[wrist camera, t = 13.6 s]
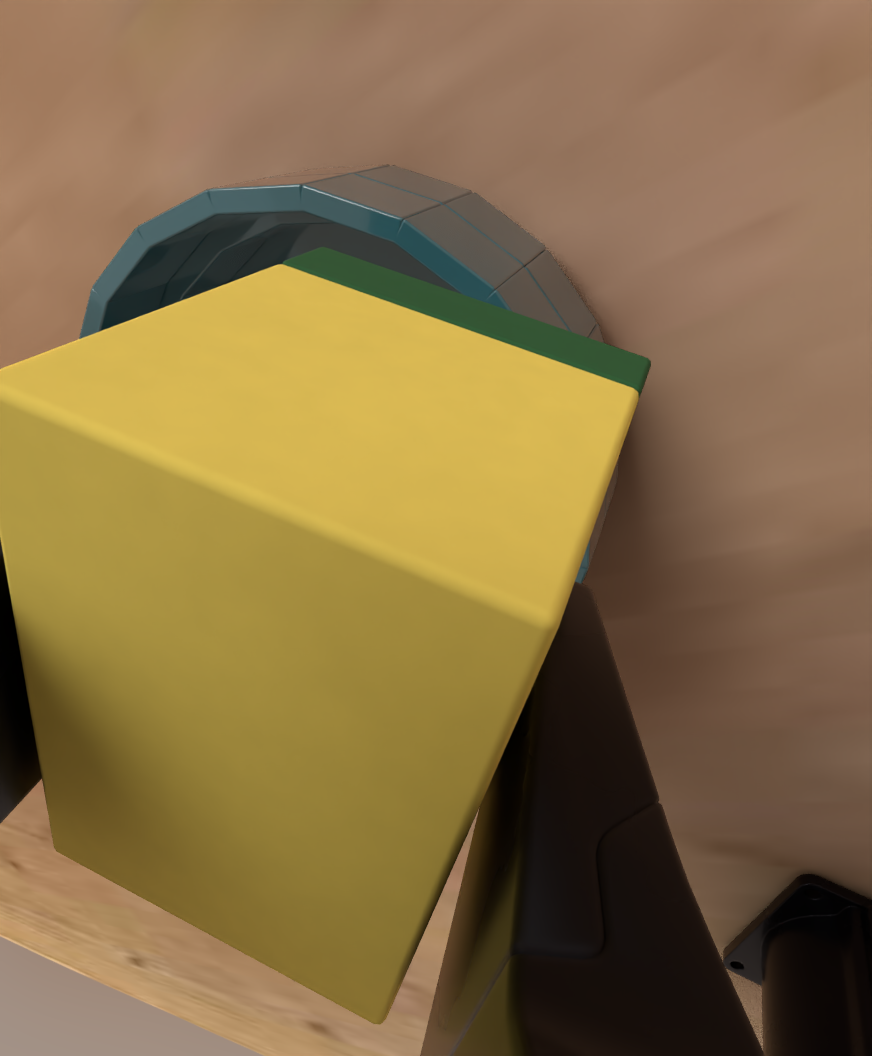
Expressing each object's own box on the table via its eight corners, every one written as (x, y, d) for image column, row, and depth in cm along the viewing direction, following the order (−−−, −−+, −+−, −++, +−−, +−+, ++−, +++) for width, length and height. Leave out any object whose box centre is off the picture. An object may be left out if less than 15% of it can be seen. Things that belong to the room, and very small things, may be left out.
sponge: (508, 704, 12) (380, 1032, 8) (278, 602, 12) (51, 852, 8) (653, 358, 8) (559, 625, 4) (322, 244, 9) (-36, 375, 5)
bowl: (534, 665, 24) (492, 779, 20) (189, 514, 26) (90, 591, 22) (713, 263, 16) (702, 319, 12) (201, 97, 19) (52, 100, 15)
